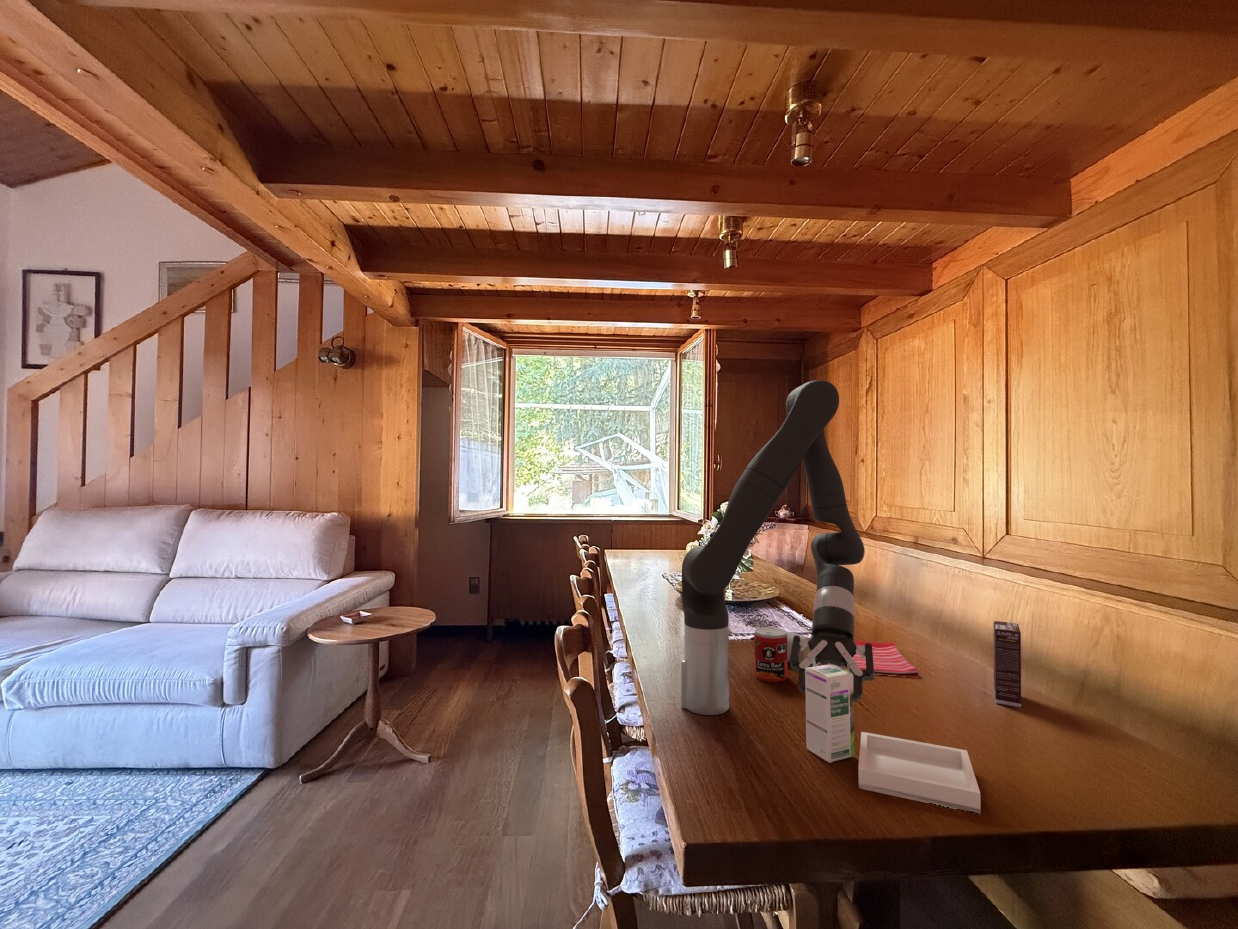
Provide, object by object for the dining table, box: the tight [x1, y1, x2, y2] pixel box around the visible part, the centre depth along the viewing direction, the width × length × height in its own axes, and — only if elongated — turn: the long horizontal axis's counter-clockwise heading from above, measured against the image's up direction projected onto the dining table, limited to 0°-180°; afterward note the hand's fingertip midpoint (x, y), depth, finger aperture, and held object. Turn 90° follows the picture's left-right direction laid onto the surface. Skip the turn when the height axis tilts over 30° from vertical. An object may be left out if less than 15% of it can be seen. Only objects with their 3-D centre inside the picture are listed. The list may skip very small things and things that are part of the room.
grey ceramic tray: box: [857, 731, 982, 815], centre depth 90 cm, size 16×14×3 cm
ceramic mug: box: [785, 630, 811, 663], centre depth 148 cm, size 11×8×8 cm
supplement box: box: [993, 620, 1022, 709], centre depth 122 cm, size 9×5×16 cm, turn 148°
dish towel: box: [843, 640, 920, 677], centre depth 148 cm, size 17×24×3 cm
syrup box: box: [805, 663, 856, 764], centre depth 98 cm, size 6×6×14 cm
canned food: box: [753, 626, 788, 683], centre depth 135 cm, size 8×8×11 cm
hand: (829, 696), depth 98 cm, fingers open, 8 cm apart
